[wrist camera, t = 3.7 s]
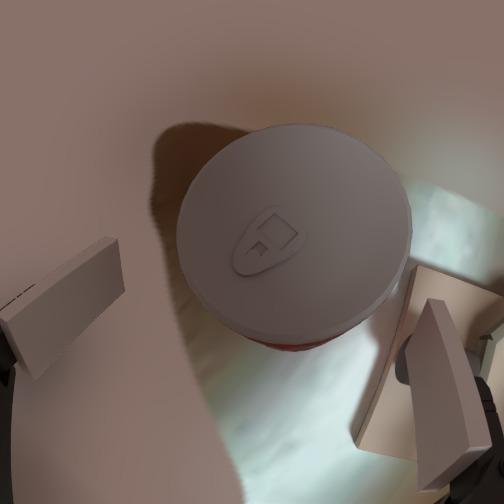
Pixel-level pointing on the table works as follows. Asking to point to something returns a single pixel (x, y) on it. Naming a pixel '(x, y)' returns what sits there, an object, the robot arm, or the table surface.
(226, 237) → the canned food
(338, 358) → the table surface
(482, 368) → the plate
